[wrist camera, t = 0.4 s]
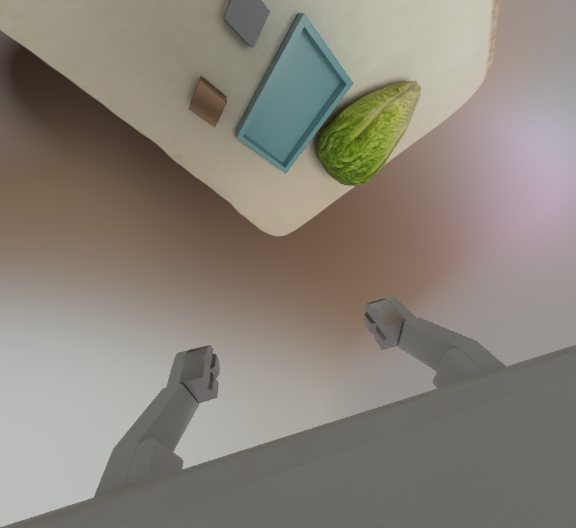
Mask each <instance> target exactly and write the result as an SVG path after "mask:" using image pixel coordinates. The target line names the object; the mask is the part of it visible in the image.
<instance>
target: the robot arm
mask: <svg viewBox="0 0 576 528" xmlns="http://www.w3.org/2000/svg"><path fill="white" fill-rule="evenodd" d="M365 309H366V311H367V312H366V313H365V315H364V320H365V324H366V326H367V328H368V330H369V331H370V332H371V333H373V334H375V340H376V341H377V343H378V344H379V346H380V347H381V349H382V350H383V349H387V348H391V347H395V346H398V347H399V348H401V349H402V350H404V351H406V352H407V353H409V354H410V355H412V356H413V357H415V358H416V359H418V360H420V361H421V362H423V363H424V364H426V365H427V366H429V367H431V368H432V369H434V370H435V371H437V373H436V375H435V377H434V380H433V383H434V385H435V386H436V387H437V389H435V390H431V391H428V392H425V393H422V394H419V395H416V396H412V397H409V398H406V399H403V400H400V401H397V402H393V403H390V404H387V405H384V406H381V407H378V408H375V409H371V410H368V411H365V412H362V413H359V414H356V415H353V416H350V417H346V418H343V419H340V420H337V421H334V422H331V423H328V424H324V425H321V426H318V427H315V428H312V429H308V430H305V431H302V432H299V433H296V434H293V435H290V436H286V437H283V438H280V439H277V440H274V441H271V442H268V443H264V444H261V445H258V446H255V447H252V448H249V449H245V450H242V451H239V452H236V453H233V454H230V455H227V456H223V457H220V458H217V459H214V460H211V461H208V462H205V463H201V464H198V465H196V466H192V467H189V468H186V469H182V467H183V460H182V459H181V458H180V457H179V456H178V455H176V454H175V453H173V451H174V449H175V448H176V445H177V444H178V442H179V440H180V438H181V437H182V435H183V433H184V431H185V429H186V428H187V426H188V424H189V422H190V420H191V418H192V417H193V415H194V413H195V411H196V409H197V408H198V406H199V403H201V402H205V401H208V400H211V399H214V398H217V395H218V381H217V380H216V378H217V377H218V375H219V360H218V357H217V355H216V354H213V349H212V347H211V346H210V345H208V346H204V347H200V348H196V349H191V350H188V351H184V352H180V353H177V355H176V356H175V359H174V362H173V366H172V369H171V373H170V376H169V380H168V384H167V387H166V388H164V389H162V390H161V392H160V393H159V394H158V396H157V397H156V398H155V399H154V400H153V401H152V403H151V404H150V405H149V406H148V407H147V409H146V410H145V411H144V412H143V413H142V415H141V416H140V417H139V418H138V419H137V421H136V422H135V423H134V424H133V426H132V427H131V428H130V429H129V431H128V432H127V433H126V434H125V435H124V437H123V438H122V439H121V440H120V441H119V443H118V444H117V445H116V446H115V448H114V449H113V451H112V453H111V456H110V458H109V461H108V463H107V466H106V469H105V471H104V473H103V476H102V478H101V481H100V483H99V486H98V488H97V491H96V493H95V496H94V498H91V499H88V500H85V501H82V502H79V503H76V504H72V505H69V506H66V507H63V508H60V509H57V510H54V511H50V512H47V513H44V514H41V515H38V516H35V517H32V518H28V519H25V520H22V521H19V522H16V523H13V524H10V525H7V526H3V527H0V528H576V345H573V346H570V347H567V348H564V349H561V350H557V351H555V352H551V353H548V354H545V355H542V356H539V357H535V358H532V359H529V360H526V361H523V362H520V363H516V364H513V365H510V366H507V367H506V366H505V365H504V364H503V363H502V362H500V361H499V360H498V359H497V358H496V357H494V356H493V355H492V354H491V353H490V352H489V351H488V350H486V349H485V348H484V347H483V346H482V345H480V344H479V343H478V342H477V341H475V340H473V339H471V338H468V337H466V336H463V335H461V334H458V333H456V332H454V331H451V330H448V329H446V328H444V327H441V326H439V325H436V324H434V323H432V322H429V321H427V320H424V319H422V318H416V317H415V316H414V315H413V314H412V313H411V312H410V311H409V310H408V309H407V308H406V307H405V306H404V305H403V304H402V303H401V302H400V301H399V300H398V299H397V298H396V297H394V296H393V297H389V298H385V299H381V300H377V301H373V302H370V303H367V304H366V305H365Z"/></svg>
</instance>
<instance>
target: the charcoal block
mask: <svg viewBox="0 0 576 528" xmlns="http://www.w3.org/2000/svg"><path fill="white" fill-rule="evenodd" d="M269 12H270V11H269V10H268V8H267V7H266V6H265V5H264V3H263V2H262V1H261V0H230V2H229V5H228V8H227V10H226V13H225V15H224V19H225V21H226V22H227V23H228V24H229V25H230V26H231V27H232V28H233V29H234V30H235V31H236V32H237V33H238V34H239V35H240V36H241V37H242V38H243V40H244V41H245V42H246V43H247V44H248V45H249V46H250V47H252V48H253V46H254V44H255V42H256V40H257V38H258V36H259V34H260V31H261V29H262V27H263V25H264V23H265V21H266V19H267V17H268V15H269Z"/></svg>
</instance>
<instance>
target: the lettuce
mask: <svg viewBox="0 0 576 528" xmlns="http://www.w3.org/2000/svg"><path fill="white" fill-rule="evenodd" d="M420 88H421V87H420V86H419V85H418V83H417V82H416V81H404V82H399V83H395V84H392V85H388V86H385V87H383V88H380V89H378V90H375V91H373V92H371V93H369V94H367V95H365V96H363V97H361V98H360V99H358V100H357V101H356V102H354V103H353V104H351V105H350V106H349V107H347V108H346V109H345V110H343V111H342V112H341V113H339V114H338V116H337V117H336V118H335V119H334V120H333V121H332V122H331V123H330V124H329V125H328V126H327V127H326V128H325V129H324V131H323V132H322V134H321V136H320V137H319V146H318V157H319V159H320V161H321V163H322V165H323V166H324V168H325V170H326V171H327V172H328V174H329V175H330V176H332V177H333V178H334V179H335V180H337V181H338V182H339V183H341V184H344V185H352V186H358V185H363V184H364V183H366V182H367V181H368V180H370V179H371V178H372V177H373V176H374V175H375V174H376V173H377V172H378V171H379V170H380V169H381V167H382V166H383V165H384V164H385V163H386V161H387V159H388V158H389V156H390V154H391V153H392V151H393V149H394V148H395V146H396V145H397V143H398V142H399V141H400V139H401V138H402V136H403V135H404V133H405V131H406V129H407V127H408V124H409V122H410V120H411V117H412V115H413V112H414V110H415V107H416V105H417V102H418V100H419V97H420Z"/></svg>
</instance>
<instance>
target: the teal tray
mask: <svg viewBox="0 0 576 528" xmlns="http://www.w3.org/2000/svg"><path fill="white" fill-rule="evenodd" d="M352 85H353V82H352V81H351V79H350V78H349V76H348V75H347V74H346V72H345V71H344V69H343V68H342V66H341V65H340V64H339V62H338V61H337V59H336V58H335V56H334V55H333V54H332V52H331V51H330V49H329V48H328V46H327V45H326V44H325V42H324V41H323V39H322V38H321V36H320V35H319V34H318V32H317V31H316V29H315V28H314V27H313V25H312V24H311V22H310V21H309V19H308V18H307V17H306V15H305V14H304V13H301V14H298V15H297V16H296V18H295V20H294V22H293V24H292V26H291V28H290V30H289V32H288V33H287V35H286V37H285V39H284V41H283V43H282V45H281V47H280V48H279V50H278V52H277V54H276V56H275V58H274V60H273V62H272V64H271V65H270V67H269V69H268V71H267V73H266V75H265V77H264V79H263V80H262V82H261V84H260V86H259V88H258V90H257V92H256V94H255V96H254V97H253V99H252V101H251V103H250V105H249V107H248V109H247V111H246V112H245V114H244V116H243V118H242V120H241V122H240V124H239V126H238V127H237V129H236V131H235V133H236V138H237V139H238V140H240V141H241V142H242V143H244V144H245V145H247V146H248V147H249V148H251V149H252V150H254V151H255V152H256V153H258V154H259V155H261V156H262V157H263V158H265V159H266V160H268V161H269V162H270V163H272V164H273V165H275V166H276V167H277V168H279V169H280V170H282V171H283V172H284V173H287V172H288V170H289V169H290V168H291V166H292V165H293V164H294V162H295V161H296V160H297V158H298V157H299V155H300V154H301V153H302V151H303V150H304V149H305V147H306V146H307V145H308V143H309V142H310V141H311V139H312V138H313V137H314V135H315V134H316V133H317V131H318V130H319V129H320V127H321V126H322V125H323V123H324V122H325V121H326V119H327V118H328V117H329V115H330V114H331V113H332V111H333V110H334V109H335V107H336V106H337V105H338V103H339V102H340V101H341V99H342V98H343V97H344V95H345V94H346V93H347V91H348V90H349V89H350V87H351V86H352Z"/></svg>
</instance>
